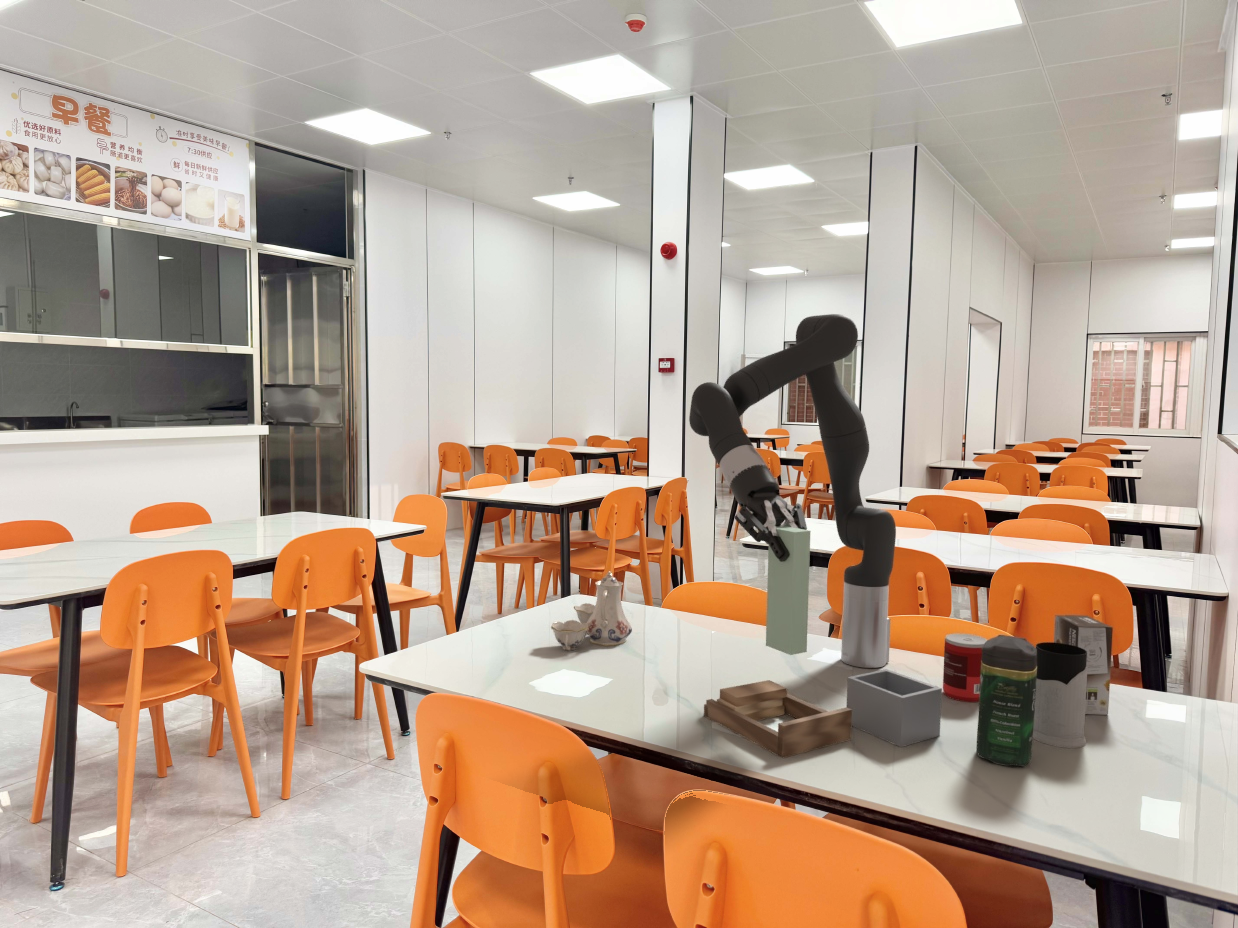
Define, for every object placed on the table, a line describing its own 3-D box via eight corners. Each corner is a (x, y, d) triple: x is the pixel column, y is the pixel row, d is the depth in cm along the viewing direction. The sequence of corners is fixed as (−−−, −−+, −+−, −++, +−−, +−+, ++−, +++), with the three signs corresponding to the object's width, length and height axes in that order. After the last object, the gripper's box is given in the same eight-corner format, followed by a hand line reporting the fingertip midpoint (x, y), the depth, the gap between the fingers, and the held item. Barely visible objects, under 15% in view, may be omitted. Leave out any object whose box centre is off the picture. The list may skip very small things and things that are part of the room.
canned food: (986, 692, 159) (989, 636, 158) (985, 705, 151) (988, 646, 151) (943, 685, 162) (946, 630, 161) (941, 698, 155) (943, 640, 154)
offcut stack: (766, 704, 149) (767, 678, 149) (786, 714, 145) (787, 687, 144) (715, 716, 143) (715, 689, 143) (734, 726, 139) (735, 698, 138)
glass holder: (1078, 752, 131) (1083, 659, 130) (986, 727, 140) (990, 641, 139) (1092, 736, 137) (1097, 648, 136) (1003, 714, 147) (1007, 631, 146)
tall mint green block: (781, 642, 140) (784, 525, 138) (806, 651, 135) (810, 530, 133) (765, 645, 138) (769, 527, 136) (790, 654, 133) (794, 532, 131)
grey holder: (884, 713, 146) (886, 668, 146) (939, 735, 136) (941, 688, 136) (845, 722, 141) (847, 677, 141) (900, 746, 131) (902, 697, 131)
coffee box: (1110, 715, 147) (1115, 627, 146) (1074, 714, 147) (1078, 626, 146) (1083, 697, 156) (1087, 614, 155) (1049, 696, 157) (1053, 613, 156)
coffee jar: (1030, 772, 123) (1036, 650, 122) (973, 760, 127) (978, 642, 125) (1034, 750, 131) (1040, 635, 130) (980, 739, 135) (985, 628, 134)
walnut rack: (768, 701, 151) (769, 674, 151) (850, 739, 134) (851, 709, 134) (703, 715, 144) (704, 687, 143) (782, 757, 126) (783, 726, 126)
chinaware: (575, 628, 206) (569, 563, 205) (640, 625, 203) (635, 559, 202) (548, 661, 178) (541, 586, 177) (624, 659, 176) (617, 582, 175)
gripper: (726, 464, 137) (773, 547, 128) (789, 462, 145) (839, 541, 135) (706, 492, 142) (750, 575, 133) (768, 489, 149) (814, 567, 140)
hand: (795, 557), depth 134 cm, fingers closed on tall mint green block, 3 cm apart
